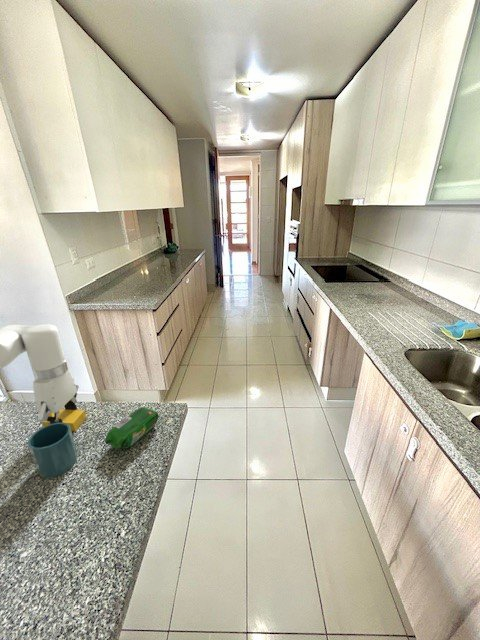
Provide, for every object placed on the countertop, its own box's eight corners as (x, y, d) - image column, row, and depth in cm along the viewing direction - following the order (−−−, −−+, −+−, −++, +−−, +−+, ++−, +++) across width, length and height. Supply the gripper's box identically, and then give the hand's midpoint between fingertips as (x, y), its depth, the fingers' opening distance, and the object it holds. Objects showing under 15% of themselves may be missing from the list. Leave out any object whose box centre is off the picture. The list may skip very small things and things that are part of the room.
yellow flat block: (44, 430, 74) (42, 422, 73) (58, 416, 79) (55, 408, 78) (75, 431, 74) (73, 423, 73) (86, 418, 79) (84, 410, 78)
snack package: (101, 450, 68) (97, 434, 66) (146, 413, 81) (144, 400, 79) (120, 461, 65) (116, 445, 63) (163, 421, 78) (162, 407, 76)
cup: (29, 477, 61) (18, 448, 57) (54, 448, 68) (45, 421, 65) (63, 479, 60) (54, 450, 57) (84, 450, 68) (77, 423, 65)
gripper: (59, 354, 78) (72, 403, 85) (9, 387, 62) (30, 445, 69) (83, 354, 78) (94, 404, 84) (40, 389, 62) (58, 446, 68)
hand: (65, 422), depth 76 cm, fingers closed on yellow flat block, 5 cm apart
